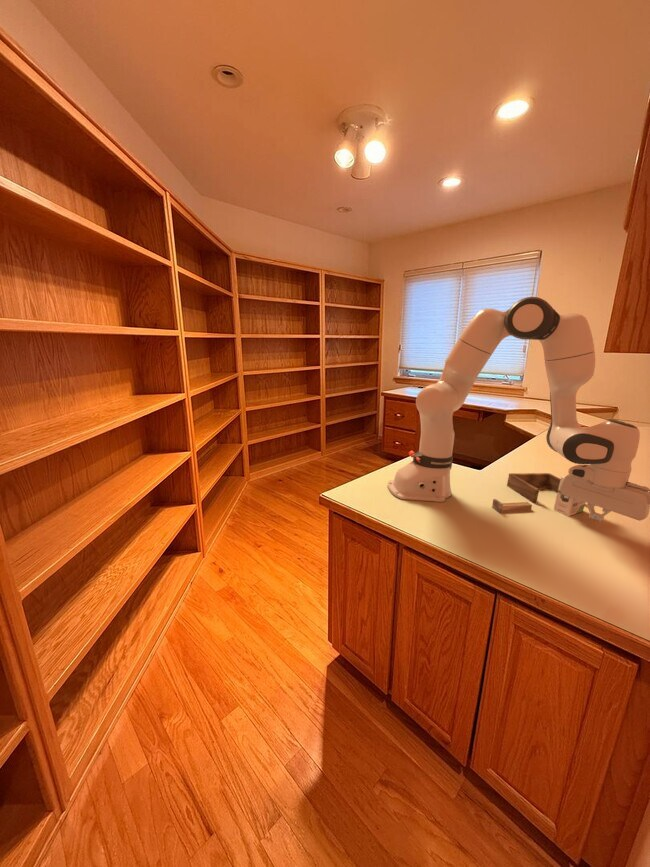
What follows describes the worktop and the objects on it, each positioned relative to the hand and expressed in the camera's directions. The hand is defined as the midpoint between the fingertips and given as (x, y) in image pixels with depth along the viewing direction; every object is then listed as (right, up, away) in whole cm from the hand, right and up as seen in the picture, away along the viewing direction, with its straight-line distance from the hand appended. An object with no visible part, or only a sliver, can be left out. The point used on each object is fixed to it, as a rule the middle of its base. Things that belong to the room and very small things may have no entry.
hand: (595, 519), depth 97 cm
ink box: (-1, 0, +10) cm, 10 cm away
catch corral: (-2, +4, +21) cm, 22 cm away
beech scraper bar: (-20, +1, +9) cm, 22 cm away
